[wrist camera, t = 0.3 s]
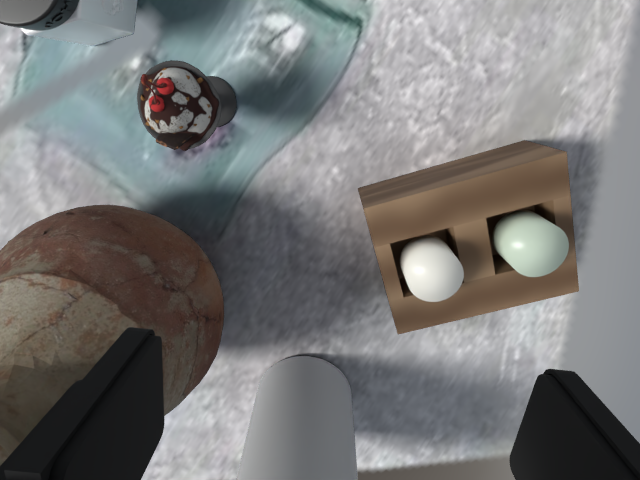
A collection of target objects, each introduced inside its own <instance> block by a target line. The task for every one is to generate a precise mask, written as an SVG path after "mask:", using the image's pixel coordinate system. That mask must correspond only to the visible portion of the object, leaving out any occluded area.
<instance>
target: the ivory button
mask: <svg viewBox="0 0 640 480" xmlns="http://www.w3.org/2000/svg"><path fill="white" fill-rule="evenodd" d="M400 266H401V269H402V272H403V274H404V277H405V279H406V282H407V284H408V287H409V289H410V291H411V292H412V293H413V294H414V295H415V296H416V297H417V298H419V299H421V300H424V301H428V302H438V301H442V300H445V299H447V298H449V297H451V296H452V295H454V294H455V293H456V292H457V291H458V289H459V288H460V286H461V284H462V282H463V278H464V271H463V267H462V265H461V263H460V261H459V260H458V259H457V257H456V256H455V255H454V253H453V252H452V251H451V249H450V248H449V247H448V245H447V244H446V243H445V242H444V241H443V240H442V239H440V238H438V237H435V236H431V235H425V236H419V237H417V238H414V239H413V240H411V241H410V242H408V243H407V244H406V245H405V247H404V248H403V250H402V252H401V255H400Z"/></svg>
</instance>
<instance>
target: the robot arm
mask: <svg viewBox="0 0 640 480" xmlns="http://www.w3.org/2000/svg"><path fill="white" fill-rule="evenodd" d="M163 429H164V394H163V361H162V339H161V337H160V336H155V332H154V330H152V329H144V328H134V327H129V328H127V329H126V330H125V331H124V332H123V333H122V334H121V335H120V337H119V338H118V339H117V340H116V341H115V342H114V344H113V345H112V346H111V347H110V348H109V349H108V350H107V352H106V353H105V354H104V355H103V356H102V357H101V359H100V360H99V361H98V362H97V363H96V364H95V366H94V367H93V368H92V369H91V370H90V371H89V372H88V374H87V375H86V376H85V377H84V378H83V379H82V380H79V381H76V382H75V383H74V384H73V385H72V386H70V388H69V389H68V390H67V391H66V392H65V393H64V394H63V395H62V397H61V398H60V399H59V400H58V401H57V402H56V403H55V405H54V406H53V407H52V408H51V409H50V410H49V411H48V412H47V414H46V415H45V416H44V417H43V418H42V419H41V420H40V422H39V423H38V424H37V425H36V426H35V427H34V428H33V429H32V431H31V432H30V433H29V434H28V435H27V436H26V437H25V438H24V440H23V441H22V442H21V443H20V444H19V445H18V446H17V448H16V449H15V450H14V451H13V452H12V453H11V454H10V455H9V457H8V458H7V459H6V460H5V461H4V462H3V463H2V465H1V466H0V480H141V478H142V476H143V474H144V472H145V470H146V468H147V466H148V464H149V462H150V460H151V457H152V455H153V453H154V451H155V449H156V447H157V445H158V443H159V441H160V439H161V436H162V433H163ZM510 467H511V470H512V473H513V475H514V477H515V479H516V480H640V444H639V442H638V441H637V440H636V439H635V438H634V437H633V436H632V435H631V434H630V433H629V431H628V430H627V429H626V428H625V427H624V426H623V425H622V424H621V422H620V421H619V420H618V419H617V418H616V417H615V416H614V415H613V414H612V412H611V411H610V410H609V409H608V408H607V407H606V406H605V405H604V404H603V403H602V401H601V400H600V399H599V398H598V397H597V396H596V395H595V394H594V393H593V392H592V390H591V389H590V388H589V387H588V386H587V385H586V384H585V383H584V381H583V380H582V379H581V378H580V377H579V376H578V375H577V374H576V373H575V372H572V371H565V370H555V369H548V370H546V371H545V372H544V374H541V375H539V376H538V377H537V379H536V382H535V385H534V388H533V391H532V394H531V396H530V399H529V402H528V405H527V408H526V411H525V414H524V417H523V420H522V423H521V425H520V428H519V431H518V434H517V437H516V440H515V443H514V446H513V449H512V451H511V454H510Z"/></svg>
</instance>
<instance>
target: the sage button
mask: <svg viewBox="0 0 640 480" xmlns="http://www.w3.org/2000/svg"><path fill="white" fill-rule="evenodd" d="M492 243H493V246H494V249H495V250H496V251H497V253H498V254H499V255H500V256H501V257H503V258H504V259H505V260H506V261H507V262H508V263H509V264H510V265H511V266H512V267H513V268H514V269H515V270H516V271H517V272H518V273H520V274H522V275H524V276H528V277H540V276H544V275H547V274H549V273H551V272H553V271H554V270H556V269H557V268H558V267H559V266H560V265H561V264H562V263H563V261H564V260H565V258H566V256H567V254H568V250H569V242H568V238H567V236H566V234H565V232H564V231H563V230H562V229H561V228H559V227H558V226H556V225H554V224H553V223H551V222H549V221H548V220H546V219H544V218H543V217H541V216H540V215H538V214H536V213H534V212H532V211H529V210H517V211H513V212H511V213H509V214H507V215H505V216H504V217H503V218H501V219H500V220H499V222H498V223H497V224H496V226H495V228H494V230H493V233H492Z"/></svg>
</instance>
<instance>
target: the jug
mask: <svg viewBox="0 0 640 480" xmlns="http://www.w3.org/2000/svg"><path fill="white" fill-rule="evenodd" d="M223 322H224V303H223V294H222V290H221V286H220V283H219V280H218V277H217V274H216V272H215V270H214V268H213V266H212V264H211V262H210V261H209V259H208V258H207V256H206V255H205V253H204V252H203V250H202V249H201V248H200V246H199V245H198V244H197V243H196V242H195V241H194V240H193V239H192V238H191V237H190V236H188V235H187V234H186V233H185V232H183V231H182V230H181V229H179V228H177V227H176V226H174V225H173V224H171V223H169V222H167V221H165V220H163V219H161V218H159V217H157V216H155V215H152V214H149V213H146V212H143V211H140V210H136V209H133V208H129V207H124V206H116V205H93V206H86V207H78V208H74V209H71V210H67V211H64V212H60V213H57V214H54V215H52V216H50V217H47V218H45V219H43V220H41V221H39V222H36V223H35V224H33V225H31V226H30V227H28V228H26V229H25V230H23V231H22V232H21V233H19V234H18V235H17V236H15V237H14V238H13V239H12V240H10V241H9V242H8V243H7V244H6V245H5V246H4V247H3V248H2V249H1V250H0V466H1V465H2V463H3V462H4V461H5V460H6V459H7V458H8V457H9V455H10V454H11V453H12V452H13V451H14V450H15V449H16V448H17V446H18V445H19V444H20V443H21V442H22V441H23V440H24V438H25V437H26V436H27V435H28V434H29V433H30V432H31V431H32V429H33V428H34V427H35V426H36V425H37V424H38V423H39V422H40V420H41V419H42V418H43V417H44V416H45V415H46V414H47V412H48V411H49V410H50V409H51V408H52V407H53V406H54V405H55V403H56V402H57V401H58V400H59V399H60V398H61V397H62V395H63V394H64V393H65V392H66V391H67V390H68V389H69V388H70V386H72V385H73V384H74V383H75V382H76V381H79V380H82V379H83V378H84V377H85V376H86V375H87V374H88V372H89V371H90V370H91V369H92V368H93V367H94V366H95V364H96V363H97V362H98V361H99V360H100V359H101V357H102V356H103V355H104V354H105V353H106V352H107V350H108V349H109V348H110V347H111V346H112V345H113V344H114V342H115V341H116V340H117V339H118V338H119V337H120V335H121V334H122V333H123V332H124V331H125V330H126V329H127V328H129V327H134V328H144V329H152V330H154V332H155V336H160V337H161V339H162V361H163V394H164V416H165V415H166V414H168V413H169V412H170V411H172V410H173V409H174V408H175V407H177V406H178V405H179V404H180V403H181V402H182V401H183V400H184V399H185V398H186V397H187V396H188V395H189V393H190V392H191V391H192V390H193V389H194V388H195V387H196V386H197V385H198V384H199V383H200V381H201V380H202V379H203V377H204V376H205V375H206V373H207V372H208V370H209V368H210V366H211V364H212V363H213V361H214V359H215V357H216V355H217V352H218V348H219V344H220V341H221V335H222V329H223Z"/></svg>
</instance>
